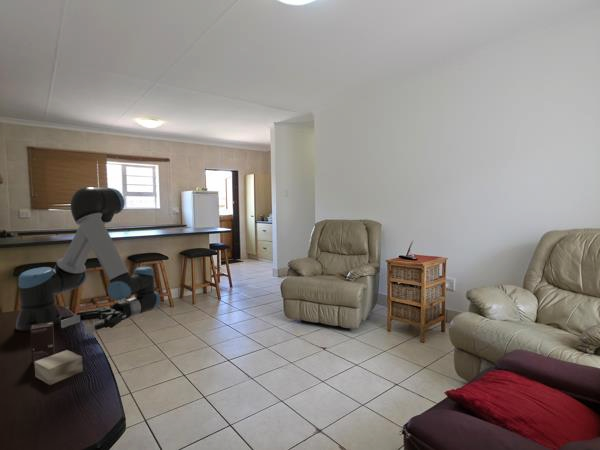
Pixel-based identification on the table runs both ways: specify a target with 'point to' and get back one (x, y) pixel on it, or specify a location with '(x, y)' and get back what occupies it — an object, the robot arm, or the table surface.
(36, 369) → the ash block
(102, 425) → the table surface
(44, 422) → the table surface
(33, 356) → the box
